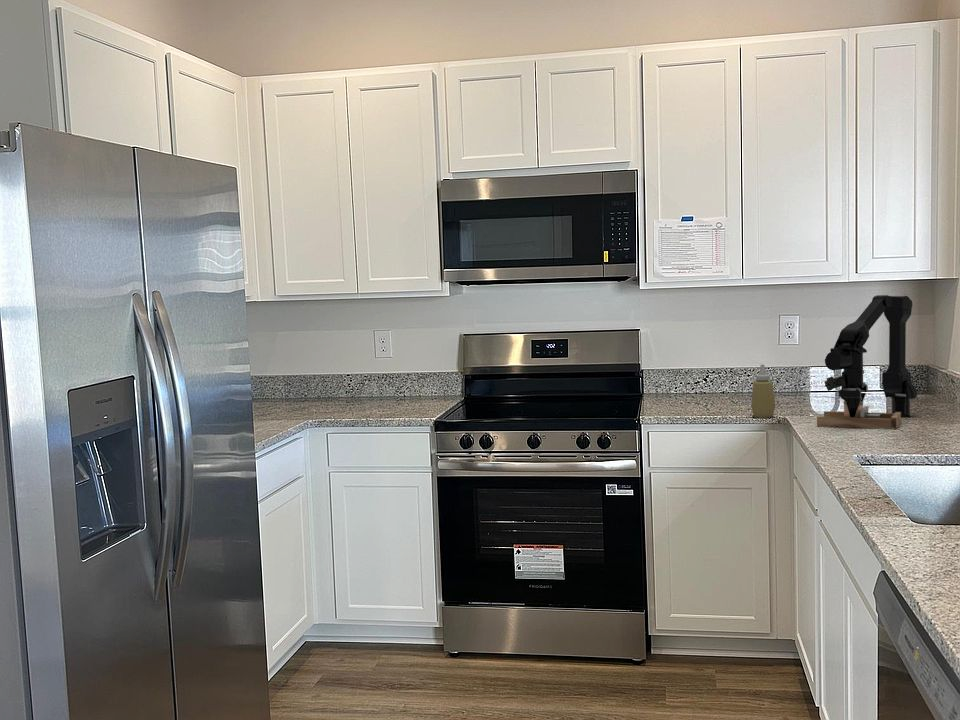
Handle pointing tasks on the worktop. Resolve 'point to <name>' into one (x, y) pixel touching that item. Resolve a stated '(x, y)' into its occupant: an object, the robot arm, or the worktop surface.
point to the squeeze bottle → (763, 395)
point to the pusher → (866, 414)
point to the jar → (858, 413)
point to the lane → (859, 420)
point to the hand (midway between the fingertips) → (853, 416)
